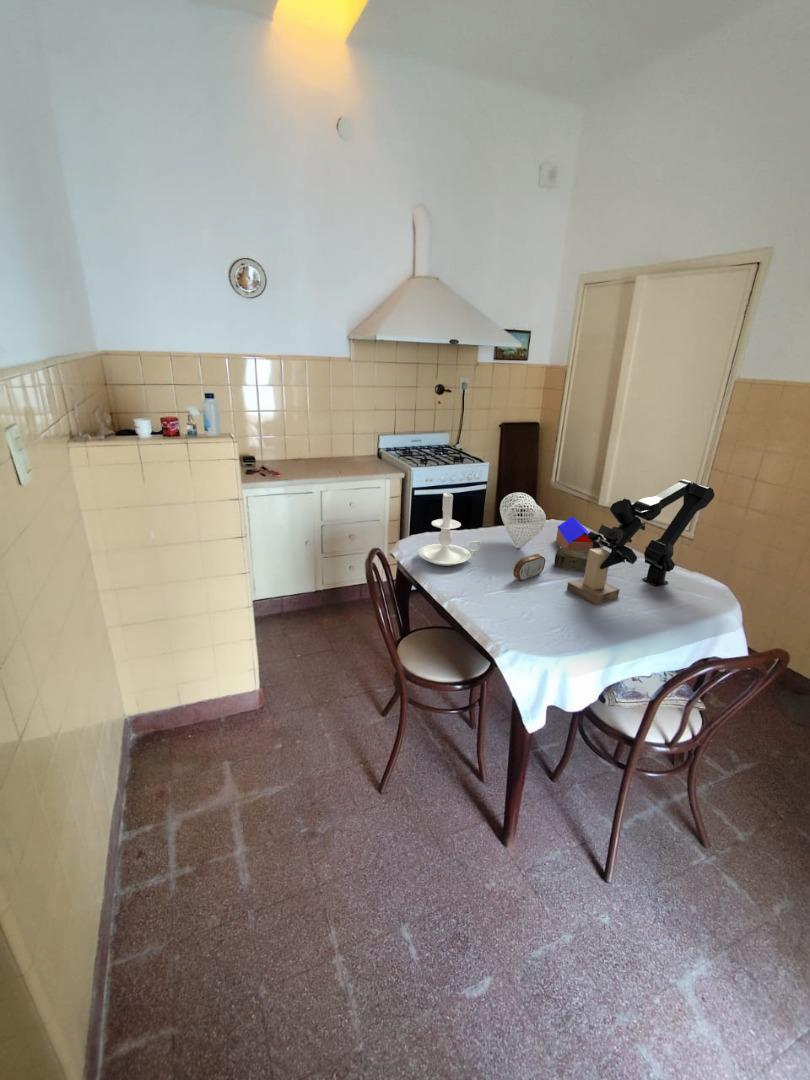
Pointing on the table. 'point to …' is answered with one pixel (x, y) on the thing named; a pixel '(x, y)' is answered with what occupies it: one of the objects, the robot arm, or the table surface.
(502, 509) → the heart
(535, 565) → the tin
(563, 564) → the beverage carton
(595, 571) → the kraft carton
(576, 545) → the house
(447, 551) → the candlestick
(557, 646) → the table surface
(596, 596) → the walnut podium
